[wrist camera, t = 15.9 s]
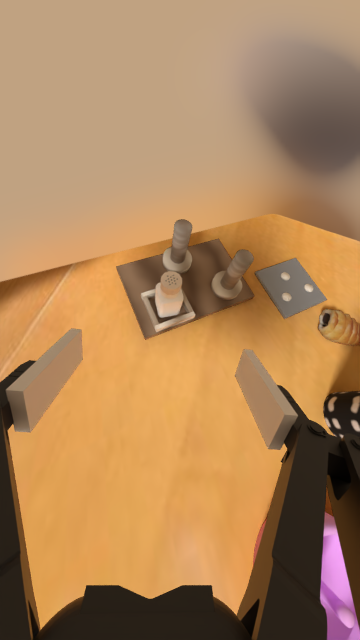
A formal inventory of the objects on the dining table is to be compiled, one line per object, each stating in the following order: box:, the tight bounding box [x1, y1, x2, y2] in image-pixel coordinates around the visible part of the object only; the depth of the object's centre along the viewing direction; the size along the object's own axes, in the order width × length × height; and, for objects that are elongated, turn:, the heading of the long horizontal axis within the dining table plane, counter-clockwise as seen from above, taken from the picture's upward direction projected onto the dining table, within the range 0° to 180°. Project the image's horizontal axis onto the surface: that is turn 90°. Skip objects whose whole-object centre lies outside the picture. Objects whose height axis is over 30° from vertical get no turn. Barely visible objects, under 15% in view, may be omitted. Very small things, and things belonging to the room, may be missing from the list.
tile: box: [255, 258, 327, 319], centre depth 45 cm, size 12×12×1 cm
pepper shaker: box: [155, 271, 183, 318], centre depth 34 cm, size 4×4×10 cm
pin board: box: [116, 219, 254, 340], centre depth 37 cm, size 24×16×11 cm, turn 115°
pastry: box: [318, 309, 360, 346], centre depth 41 cm, size 9×7×4 cm
